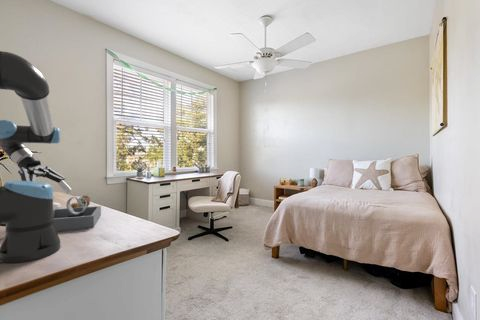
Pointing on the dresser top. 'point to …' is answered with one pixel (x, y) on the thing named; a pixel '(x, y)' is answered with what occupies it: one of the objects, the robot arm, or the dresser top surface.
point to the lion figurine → (75, 205)
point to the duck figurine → (56, 205)
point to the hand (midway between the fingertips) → (58, 194)
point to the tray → (76, 218)
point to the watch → (81, 202)
